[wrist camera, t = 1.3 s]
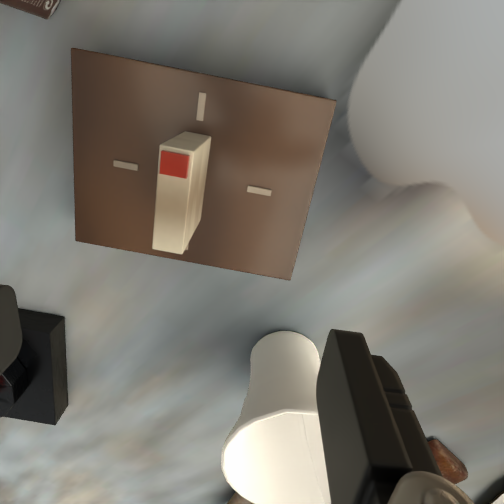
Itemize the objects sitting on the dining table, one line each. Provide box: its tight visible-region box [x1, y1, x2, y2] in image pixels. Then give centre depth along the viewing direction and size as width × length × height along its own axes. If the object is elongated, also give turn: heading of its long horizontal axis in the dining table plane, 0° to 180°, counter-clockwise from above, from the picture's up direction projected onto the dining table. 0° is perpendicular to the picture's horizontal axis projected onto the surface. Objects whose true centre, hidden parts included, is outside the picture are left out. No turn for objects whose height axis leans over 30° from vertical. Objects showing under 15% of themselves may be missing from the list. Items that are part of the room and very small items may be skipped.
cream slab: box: [152, 131, 211, 254], centre depth 19 cm, size 5×2×5 cm, turn 170°
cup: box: [221, 331, 331, 504], centre depth 26 cm, size 9×9×10 cm
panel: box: [71, 48, 337, 280], centre depth 23 cm, size 14×11×3 cm
